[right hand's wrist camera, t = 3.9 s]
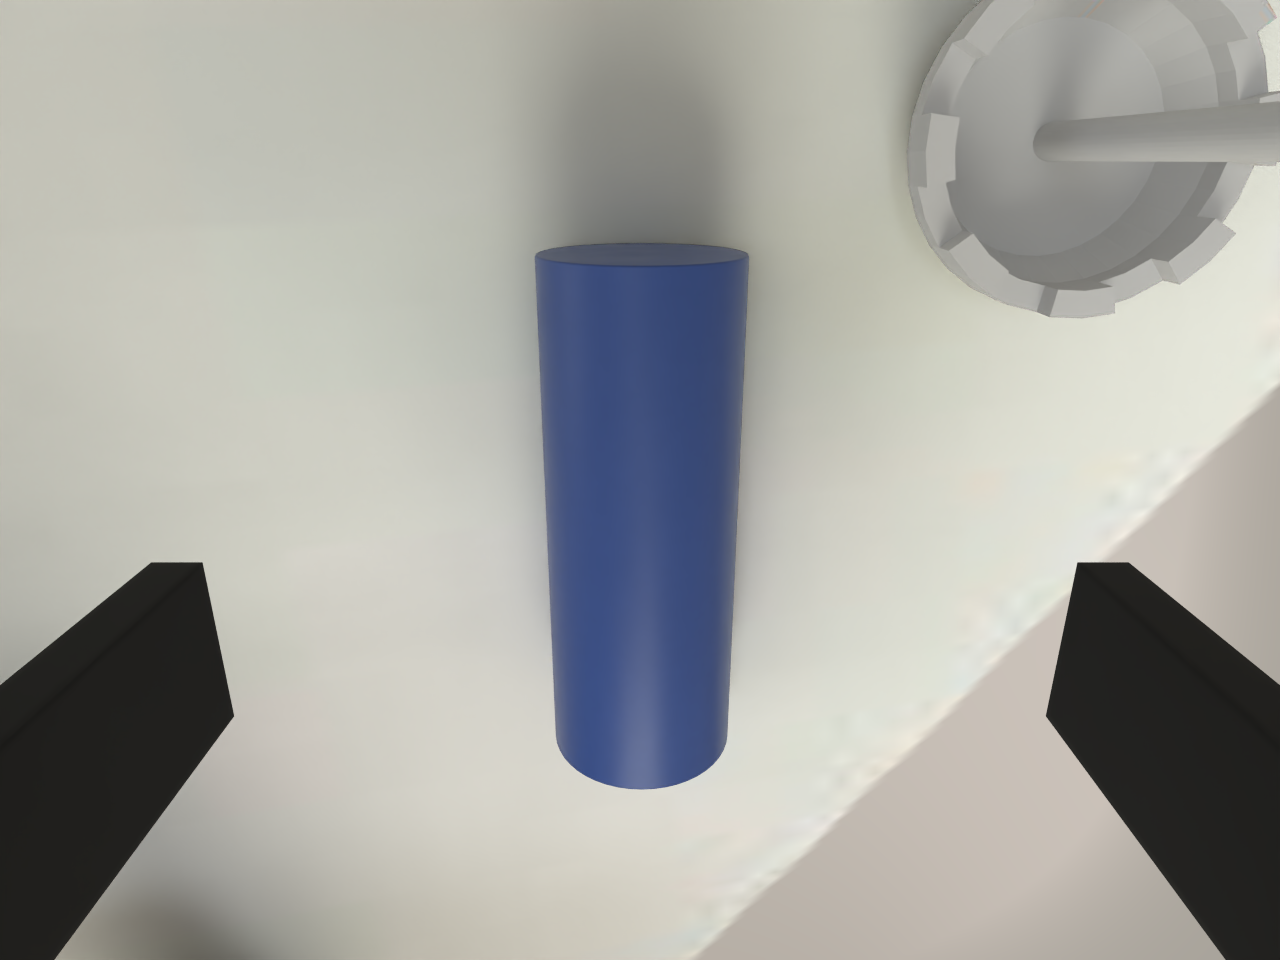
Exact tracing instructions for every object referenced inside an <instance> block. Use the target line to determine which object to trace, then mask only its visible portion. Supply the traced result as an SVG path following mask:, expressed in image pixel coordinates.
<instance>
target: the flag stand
mask: <svg viewBox="0 0 1280 960" xmlns="http://www.w3.org/2000/svg"><path fill="white" fill-rule="evenodd" d="M1276 18H1277V16H1276V15H1275V13H1274V11H1273V9H1272V8H1271V6H1270V4H1269V2H1268V1H1267V0H982V1H981V2H980V3H979V4H978V5H976V6H975V7H974V8H973V9H972V10H971V11H970V12H969V13H968V14H967V15H966V16H965V17H964V18H963V20H962V21H961V22H960V24H959V25H958V26H957V27H956V29H955V30H954V31H953V33H952V34H951V35H950V37H949V38H948V39H947V41H946V42H945V43H944V44H943V46H942V47H941V49H940V51H939V53H938V55H937V57H936V59H935V60H934V62H933V64H932V66H931V68H930V70H929V72H928V74H927V76H926V78H925V79H924V82H923V85H922V88H921V91H920V94H919V97H918V100H917V103H916V106H915V109H914V112H913V115H912V121H911V128H910V135H909V142H908V149H907V161H908V185H909V190H910V194H911V198H912V202H913V206H914V211H915V215H916V218H917V220H918V222H919V224H920V227H921V229H922V231H923V233H924V235H925V237H926V239H927V241H928V243H929V245H930V247H931V248H932V249H933V251H934V252H935V253H936V254H937V256H938V257H939V258H940V260H941V261H942V262H943V263H944V265H945V266H946V267H947V269H949V270H950V271H951V272H952V273H953V274H955V275H956V276H957V277H958V278H960V279H961V280H962V281H963V282H964V283H966V284H967V285H968V286H969V287H971V288H973V289H975V290H977V291H979V292H981V293H983V294H985V295H987V296H989V297H991V298H993V299H995V300H997V301H1000V302H1002V303H1005V304H1007V305H1011V306H1015V307H1019V308H1023V309H1027V310H1031V311H1035V312H1038V313H1041V314H1043V315H1046V316H1048V317H1063V318H1087V317H1093V316H1100V315H1106V314H1113V313H1115V303H1117V302H1120V301H1123V300H1125V299H1128V298H1131V297H1133V296H1135V295H1137V294H1139V293H1141V292H1142V291H1144V290H1146V289H1148V288H1150V287H1152V286H1153V285H1155V284H1157V283H1159V282H1161V281H1163V280H1164V281H1168V282H1172V283H1176V284H1181V283H1182V282H1184V281H1185V280H1186V279H1188V278H1189V277H1190V276H1191V275H1193V274H1194V273H1195V272H1197V271H1198V270H1199V269H1200V268H1202V267H1203V266H1204V265H1206V264H1207V263H1208V262H1210V261H1211V259H1212V258H1213V257H1214V256H1215V255H1216V254H1217V253H1218V252H1219V251H1220V250H1221V249H1222V248H1223V247H1224V246H1225V245H1226V244H1227V243H1228V242H1229V240H1230V239H1231V238H1232V237H1233V236H1234V235H1235V234H1236V233H1235V232H1234V231H1232V230H1231V229H1229V228H1228V227H1227V226H1225V225H1224V224H1222V223H1223V221H1224V220H1225V218H1226V217H1227V215H1228V214H1229V212H1230V211H1231V209H1232V208H1233V206H1234V205H1235V204H1236V202H1237V201H1238V199H1239V197H1240V195H1241V192H1242V190H1243V188H1244V186H1245V184H1246V182H1247V180H1248V178H1249V176H1250V173H1251V171H1252V169H1253V167H1254V165H1260V166H1276V162H1280V91H1276V92H1268V83H1267V72H1266V61H1265V55H1264V51H1263V48H1262V45H1261V42H1260V38H1259V35H1258V31H1259V30H1260V29H1262V28H1263V27H1265V26H1266V25H1267V24H1269V23H1270V22H1272V21H1273V20H1274V19H1276Z"/></svg>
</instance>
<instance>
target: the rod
mask: <svg viewBox="0 0 1280 960" xmlns="http://www.w3.org/2000/svg"><path fill="white" fill-rule="evenodd" d="M748 269H749V255H748V254H747V253H746V252H743V251H740V250H736V249H731V248H724V247H715V246H704V245H689V244H660V243H624V244H594V245H579V246H568V247H560V248H553V249H548V250H544V251H541V252H538V253H537V254H536V255H535V270H536V292H537V315H538V338H539V361H540V383H541V406H542V429H543V452H544V474H545V497H546V520H547V542H548V565H549V588H550V611H551V633H552V656H553V679H554V702H555V724H556V739H557V744H558V747H559V749H560V751H561V753H562V754H563V756H564V758H565V759H566V760H567V761H568V762H569V764H570V765H571V766H573V767H574V768H575V769H576V770H577V771H579V772H580V773H582V774H584V775H585V776H587V777H589V778H591V779H593V780H595V781H598V782H601V783H604V784H607V785H611V786H615V787H620V788H627V789H656V788H663V787H669V786H673V785H677V784H680V783H683V782H686V781H688V780H690V779H692V778H694V777H697V776H698V775H700V774H701V773H703V772H705V771H706V770H707V769H708V768H710V767H711V766H712V765H713V764H714V763H715V762H716V761H717V759H718V758H719V757H720V755H721V753H722V752H723V750H724V747H725V745H726V740H727V729H728V707H729V685H730V663H731V642H732V620H733V598H734V576H735V554H736V532H737V510H738V488H739V466H740V444H741V423H742V401H743V379H744V357H745V335H746V313H747V291H748Z"/></svg>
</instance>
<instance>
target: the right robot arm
mask: <svg viewBox="0 0 1280 960" xmlns="http://www.w3.org/2000/svg"><path fill="white" fill-rule="evenodd" d="M233 717H234V713H233V708H232V704H231V699H230V694H229V689H228V684H227V679H226V674H225V670H224V665H223V660H222V655H221V650H220V645H219V640H218V636H217V631H216V626H215V621H214V616H213V611H212V606H211V602H210V597H209V592H208V587H207V582H206V577H205V572H204V568H203V563H150V564H149V565H148V566H146V567H145V568H144V569H143V570H142V571H140V572H139V573H138V574H137V575H135V576H134V577H133V578H132V579H130V580H129V581H128V582H127V583H126V584H124V585H123V586H122V587H121V588H119V589H118V590H117V591H116V592H114V593H113V594H112V595H111V596H110V597H108V598H107V599H106V600H105V601H103V602H102V603H101V604H100V605H98V606H97V607H96V608H95V609H93V610H92V611H91V612H90V613H89V614H87V615H86V616H85V617H84V618H82V619H81V620H80V621H79V622H77V623H76V624H75V625H74V626H73V627H71V628H70V629H69V630H68V631H66V632H65V633H64V634H63V635H61V636H60V637H59V638H58V639H57V640H55V641H54V642H53V643H52V644H50V645H49V646H48V647H47V648H45V649H44V650H43V651H42V652H41V653H39V654H38V655H37V656H36V657H34V658H33V659H32V660H31V661H29V662H28V663H27V664H26V665H24V666H23V667H22V668H21V669H20V670H18V671H17V672H16V673H15V674H13V675H12V676H11V677H10V678H8V679H7V680H6V681H5V682H4V683H2V684H1V685H0V960H54V959H55V958H56V957H57V955H58V954H59V953H60V951H61V950H62V949H63V947H64V946H65V945H66V943H67V942H68V941H69V939H70V938H71V936H72V935H73V934H74V932H75V931H76V930H77V928H78V927H79V926H80V924H81V923H82V922H83V920H84V919H85V917H86V916H87V915H88V913H89V912H90V911H91V909H92V908H93V907H94V905H95V904H96V903H97V901H98V900H99V899H100V897H101V896H102V894H103V893H104V892H105V890H106V889H107V888H108V886H109V885H110V884H111V882H112V881H113V880H114V878H115V877H116V875H117V874H118V873H119V871H120V870H121V869H122V867H123V866H124V865H125V863H126V862H127V861H128V859H129V858H130V856H131V855H132V854H133V852H134V851H135V850H136V848H137V847H138V846H139V844H140V843H141V842H142V840H143V839H144V838H145V836H146V835H147V833H148V832H149V831H150V829H151V828H152V827H153V825H154V824H155V823H156V821H157V820H158V819H159V817H160V816H161V814H162V813H163V812H164V810H165V809H166V808H167V806H168V805H169V804H170V802H171V801H172V800H173V798H174V797H175V795H176V794H177V793H178V791H179V790H180V789H181V787H182V786H183V785H184V783H185V782H186V781H187V779H188V778H189V777H190V775H191V774H192V772H193V771H194V770H195V768H196V767H197V766H198V764H199V763H200V762H201V760H202V759H203V758H204V756H205V755H206V753H207V752H208V751H209V749H210V748H211V747H212V745H213V744H214V743H215V741H216V740H217V739H218V737H219V736H220V735H221V733H222V732H223V730H224V729H225V728H226V726H227V725H228V724H229V722H230V721H231V720H232V718H233ZM1046 717H1047V718H1048V720H1049V721H1050V722H1051V724H1052V725H1053V726H1054V728H1055V729H1056V730H1057V732H1058V733H1059V735H1060V736H1061V737H1062V739H1063V740H1064V741H1065V743H1066V744H1067V745H1068V747H1069V748H1070V749H1071V751H1072V752H1073V753H1074V755H1075V756H1076V758H1077V759H1078V760H1079V762H1080V763H1081V764H1082V766H1083V767H1084V768H1085V770H1086V771H1087V772H1088V774H1089V775H1090V777H1091V778H1092V779H1093V781H1094V782H1095V783H1096V785H1097V786H1098V787H1099V789H1100V790H1101V791H1102V793H1103V794H1104V795H1105V797H1106V798H1107V800H1108V801H1109V802H1110V804H1111V805H1112V806H1113V808H1114V809H1115V810H1116V812H1117V813H1118V814H1119V816H1120V817H1121V818H1122V820H1123V821H1124V823H1125V824H1126V825H1127V827H1128V828H1129V829H1130V831H1131V832H1132V833H1133V835H1134V836H1135V837H1136V839H1137V840H1138V842H1139V843H1140V844H1141V846H1142V847H1143V848H1144V850H1145V851H1146V852H1147V854H1148V855H1149V856H1150V858H1151V859H1152V861H1153V862H1154V863H1155V865H1156V866H1157V867H1158V869H1159V870H1160V871H1161V873H1162V874H1163V875H1164V877H1165V878H1166V880H1167V881H1168V882H1169V884H1170V885H1171V886H1172V888H1173V889H1174V890H1175V892H1176V893H1177V894H1178V896H1179V897H1180V899H1181V900H1182V901H1183V903H1184V904H1185V905H1186V907H1187V908H1188V909H1189V911H1190V912H1191V913H1192V915H1193V916H1194V917H1195V919H1196V920H1197V922H1198V923H1199V924H1200V926H1201V927H1202V928H1203V930H1204V931H1205V932H1206V934H1207V935H1208V936H1209V938H1210V939H1211V941H1212V942H1213V943H1214V945H1215V946H1216V947H1217V949H1218V950H1219V951H1220V953H1221V954H1222V955H1223V957H1224V958H1225V959H1226V960H1280V685H1279V684H1278V683H1276V682H1275V681H1274V680H1273V679H1272V678H1270V677H1269V676H1268V675H1267V674H1265V673H1264V672H1263V671H1262V670H1260V669H1259V668H1258V667H1257V666H1256V665H1254V664H1253V663H1252V662H1251V661H1249V660H1248V659H1247V658H1246V657H1244V656H1243V655H1242V654H1241V653H1239V652H1238V651H1237V650H1236V649H1235V648H1233V647H1232V646H1231V645H1230V644H1228V643H1227V642H1226V641H1225V640H1223V639H1222V638H1221V637H1220V636H1219V635H1217V634H1216V633H1215V632H1214V631H1212V630H1211V629H1210V628H1209V627H1207V626H1206V625H1205V624H1204V623H1203V622H1201V621H1200V620H1199V619H1197V618H1196V617H1195V616H1194V615H1193V614H1191V613H1190V612H1189V611H1188V610H1186V609H1185V608H1184V607H1183V606H1181V605H1180V604H1179V603H1178V602H1177V601H1175V600H1174V599H1173V598H1172V597H1170V596H1169V595H1168V594H1167V593H1166V592H1164V591H1163V590H1162V589H1161V588H1159V587H1158V586H1157V585H1156V584H1154V583H1153V582H1152V581H1151V580H1150V579H1148V578H1147V577H1146V576H1145V575H1143V574H1142V573H1141V572H1140V571H1138V570H1137V569H1136V568H1135V567H1134V566H1132V565H1131V564H1130V563H1077V568H1076V572H1075V577H1074V582H1073V587H1072V592H1071V597H1070V602H1069V606H1068V611H1067V616H1066V621H1065V626H1064V631H1063V636H1062V641H1061V645H1060V650H1059V655H1058V660H1057V665H1056V670H1055V674H1054V679H1053V684H1052V689H1051V694H1050V699H1049V704H1048V708H1047V713H1046Z"/></svg>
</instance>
